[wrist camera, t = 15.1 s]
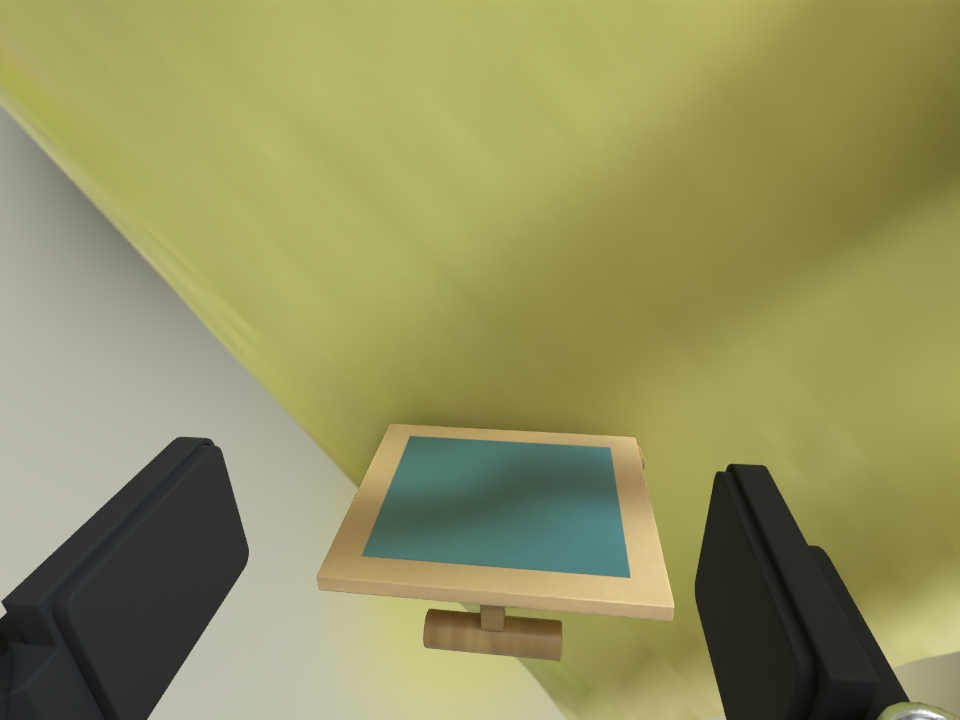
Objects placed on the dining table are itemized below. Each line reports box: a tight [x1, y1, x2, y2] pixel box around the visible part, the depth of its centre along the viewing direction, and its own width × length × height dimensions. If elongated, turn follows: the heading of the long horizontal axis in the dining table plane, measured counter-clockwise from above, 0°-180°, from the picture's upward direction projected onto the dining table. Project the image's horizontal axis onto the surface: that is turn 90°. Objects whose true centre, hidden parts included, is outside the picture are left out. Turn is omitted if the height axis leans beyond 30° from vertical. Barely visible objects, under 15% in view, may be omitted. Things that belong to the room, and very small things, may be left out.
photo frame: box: [317, 424, 675, 661], centre depth 28 cm, size 12×14×5 cm
